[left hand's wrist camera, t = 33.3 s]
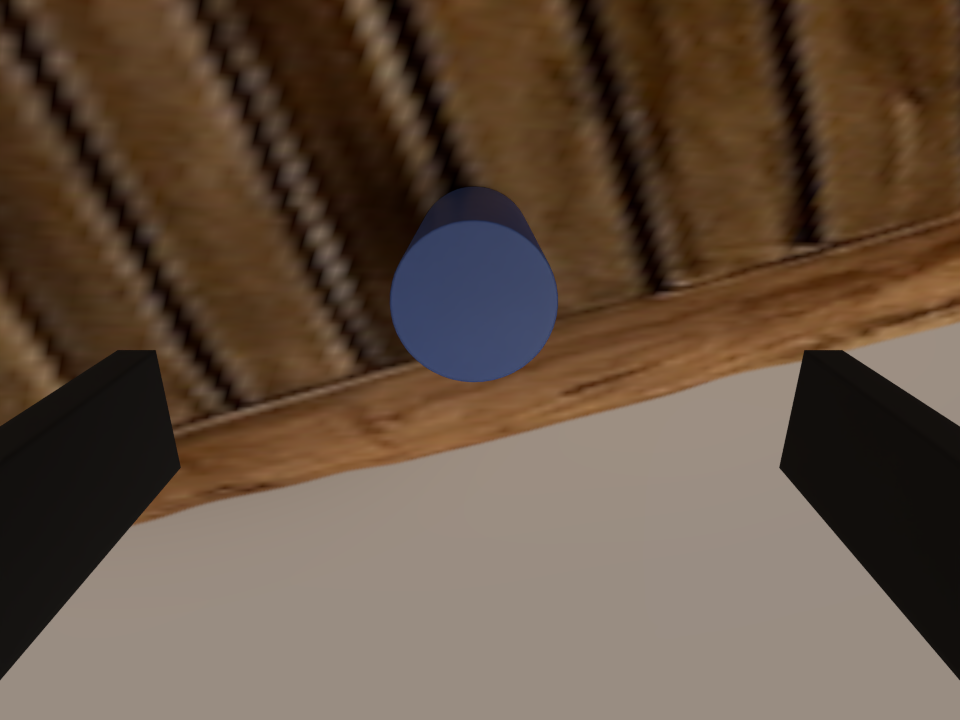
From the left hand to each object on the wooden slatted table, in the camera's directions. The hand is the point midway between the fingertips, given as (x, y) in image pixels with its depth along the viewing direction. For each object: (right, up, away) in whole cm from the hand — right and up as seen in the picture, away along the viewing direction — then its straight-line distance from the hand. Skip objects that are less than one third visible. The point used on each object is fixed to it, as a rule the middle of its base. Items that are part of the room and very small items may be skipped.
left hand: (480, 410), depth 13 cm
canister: (0, +7, +20) cm, 21 cm away
